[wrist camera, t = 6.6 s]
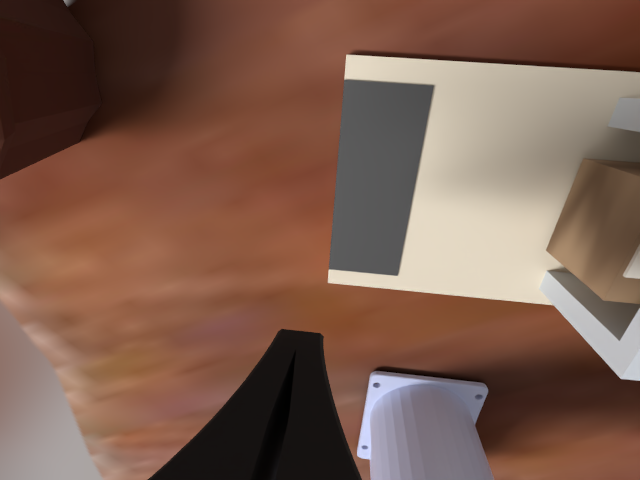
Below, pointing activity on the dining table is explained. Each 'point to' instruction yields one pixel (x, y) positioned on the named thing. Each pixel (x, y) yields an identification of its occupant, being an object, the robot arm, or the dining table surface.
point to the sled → (602, 229)
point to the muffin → (43, 81)
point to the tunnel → (478, 183)
